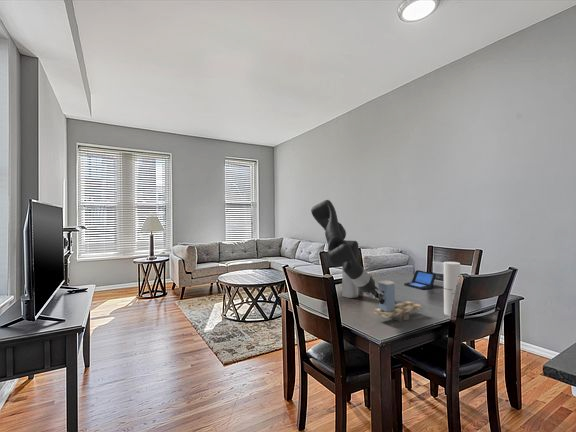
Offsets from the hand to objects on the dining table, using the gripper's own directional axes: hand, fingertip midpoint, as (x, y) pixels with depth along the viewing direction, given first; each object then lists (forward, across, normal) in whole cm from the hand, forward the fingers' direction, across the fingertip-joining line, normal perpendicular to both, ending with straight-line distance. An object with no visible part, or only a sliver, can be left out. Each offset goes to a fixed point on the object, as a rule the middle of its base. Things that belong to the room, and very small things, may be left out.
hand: (382, 302), depth 138 cm
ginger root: (+14, 0, +1) cm, 14 cm away
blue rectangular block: (+6, 0, -2) cm, 6 cm away
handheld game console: (+57, -33, +42) cm, 78 cm away
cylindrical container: (+33, +10, +19) cm, 39 cm away
